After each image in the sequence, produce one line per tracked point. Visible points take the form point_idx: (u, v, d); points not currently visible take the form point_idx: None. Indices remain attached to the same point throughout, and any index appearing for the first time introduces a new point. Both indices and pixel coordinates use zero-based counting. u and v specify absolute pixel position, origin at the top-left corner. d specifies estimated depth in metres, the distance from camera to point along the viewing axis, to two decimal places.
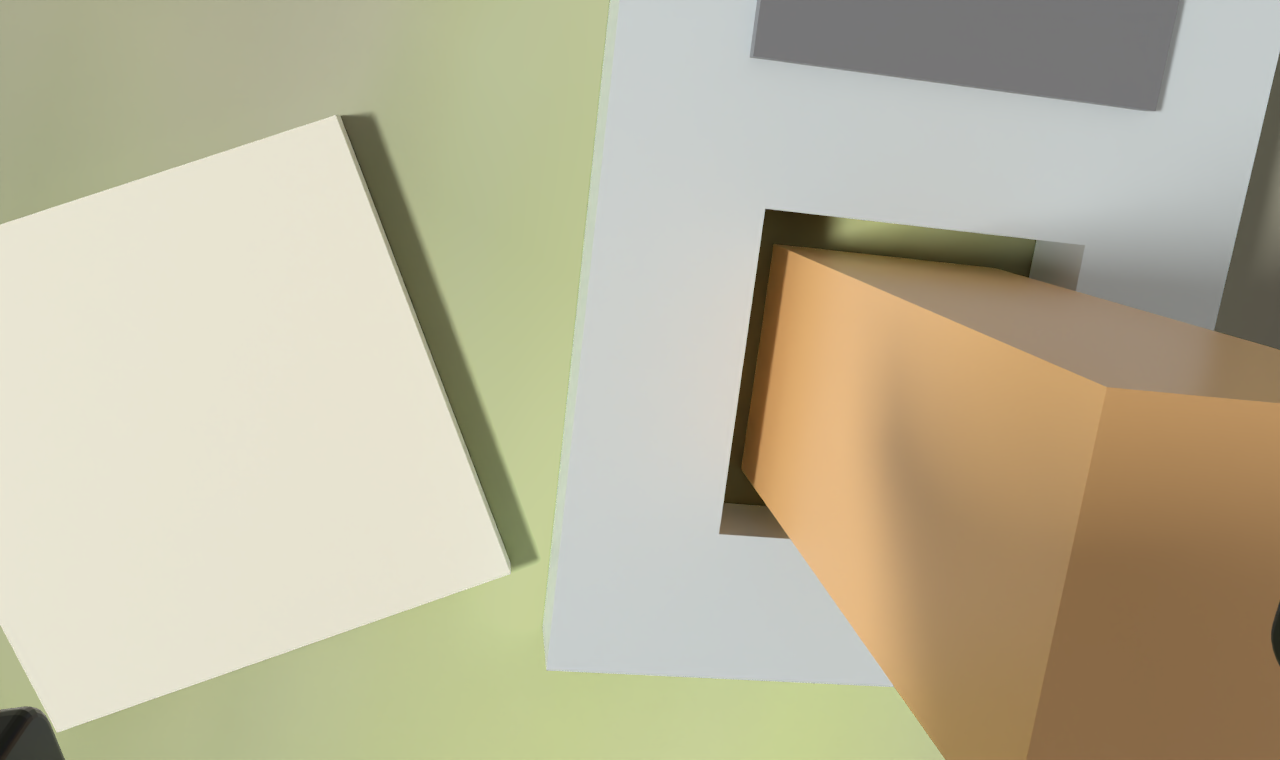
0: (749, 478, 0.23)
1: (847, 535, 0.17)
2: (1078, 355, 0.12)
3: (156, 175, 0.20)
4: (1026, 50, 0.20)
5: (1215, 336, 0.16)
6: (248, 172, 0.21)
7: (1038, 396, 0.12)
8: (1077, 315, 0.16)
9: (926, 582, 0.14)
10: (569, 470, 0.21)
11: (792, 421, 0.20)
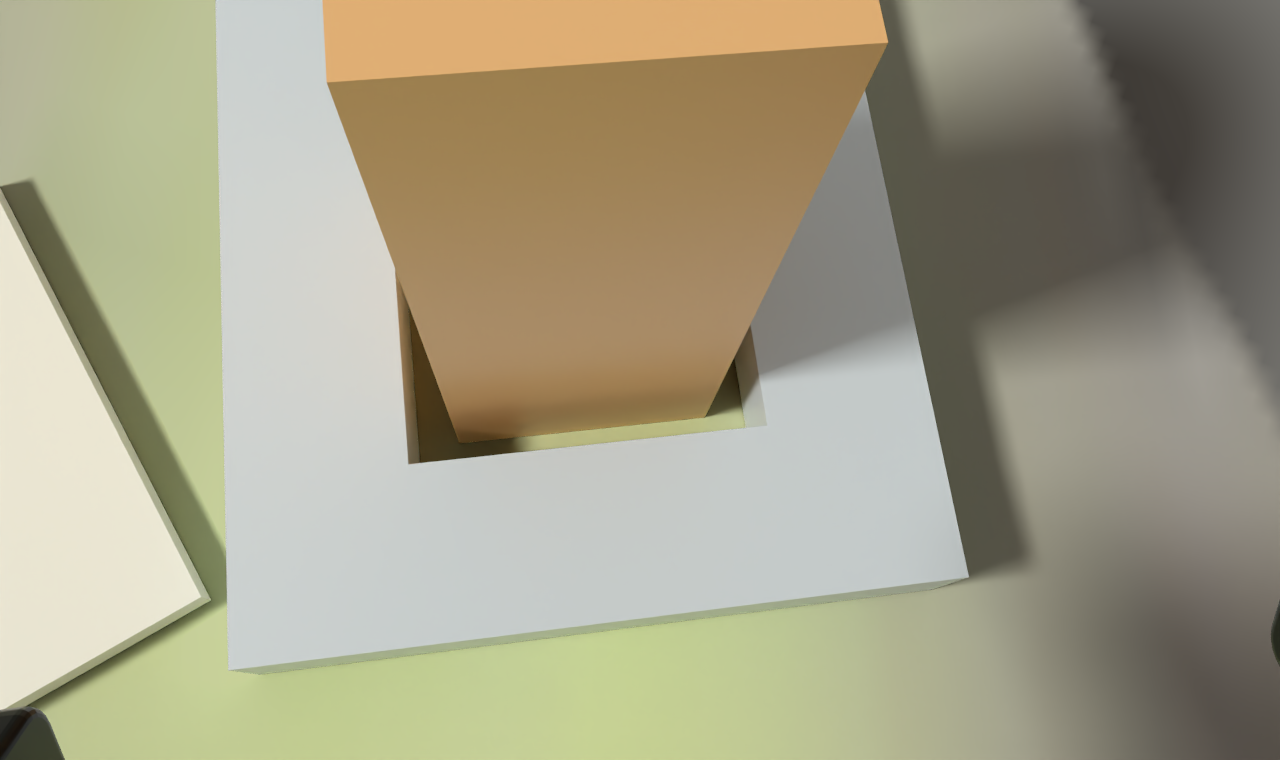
0: (455, 431, 0.21)
1: None
2: None
3: None
4: None
5: None
6: None
7: None
8: None
9: None
10: (224, 422, 0.19)
11: None
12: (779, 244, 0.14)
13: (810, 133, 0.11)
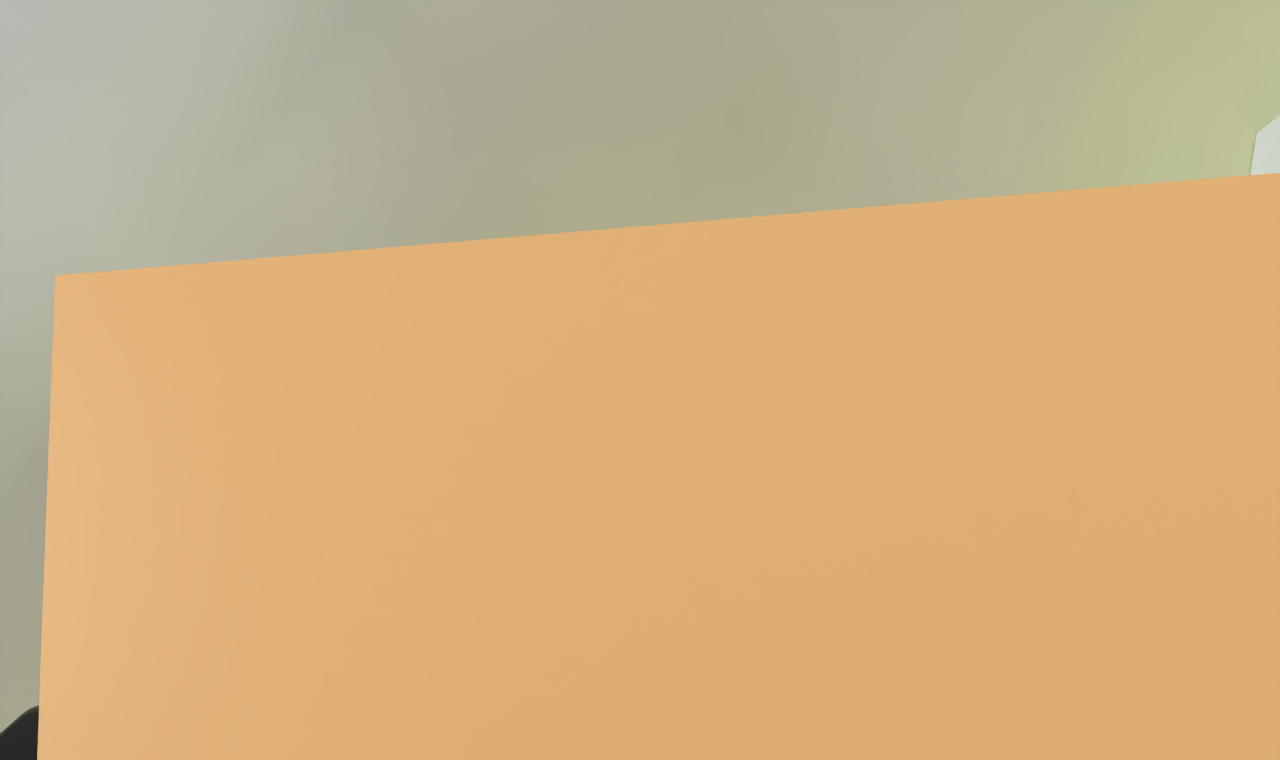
0: None
1: None
2: None
3: None
4: None
5: None
6: None
7: None
8: None
9: None
10: None
11: None
12: None
13: None
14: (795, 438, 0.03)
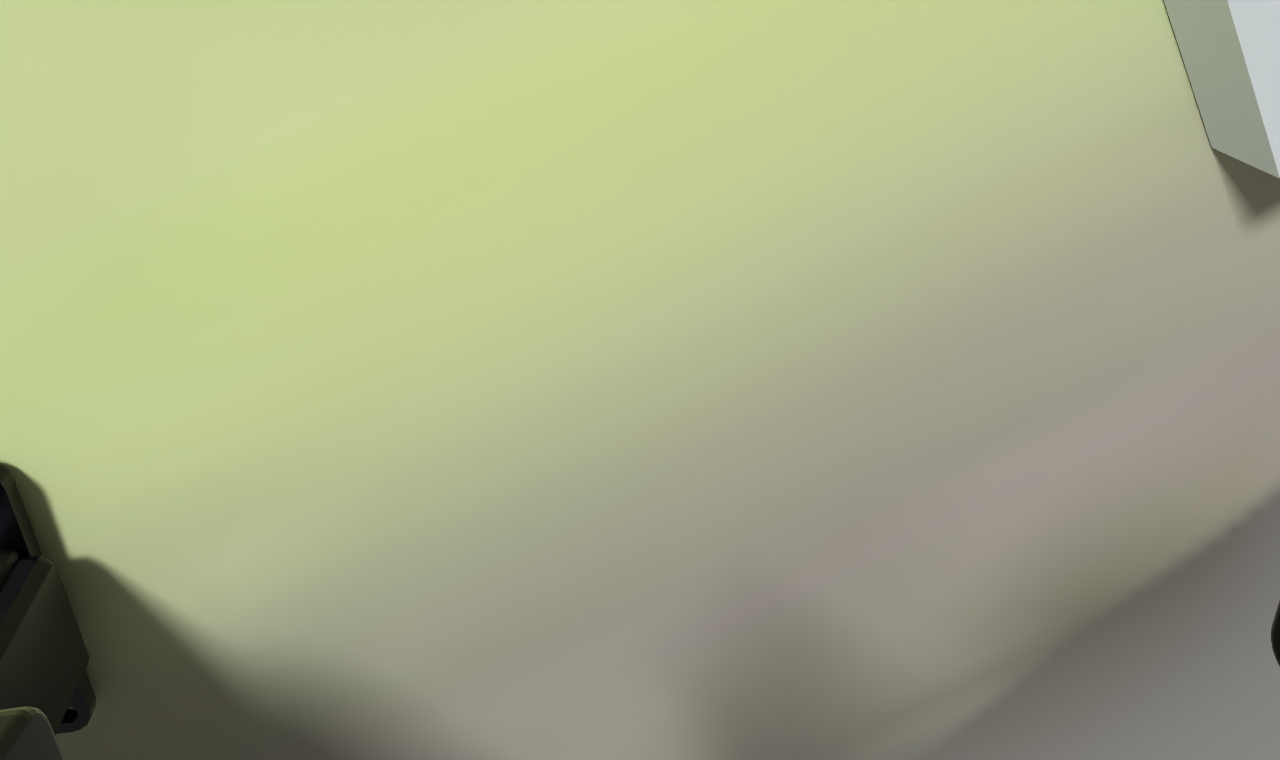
0: None
1: None
2: None
3: None
4: None
5: None
6: None
7: None
8: None
9: None
10: None
11: None
12: None
13: None
14: None
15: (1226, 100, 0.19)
